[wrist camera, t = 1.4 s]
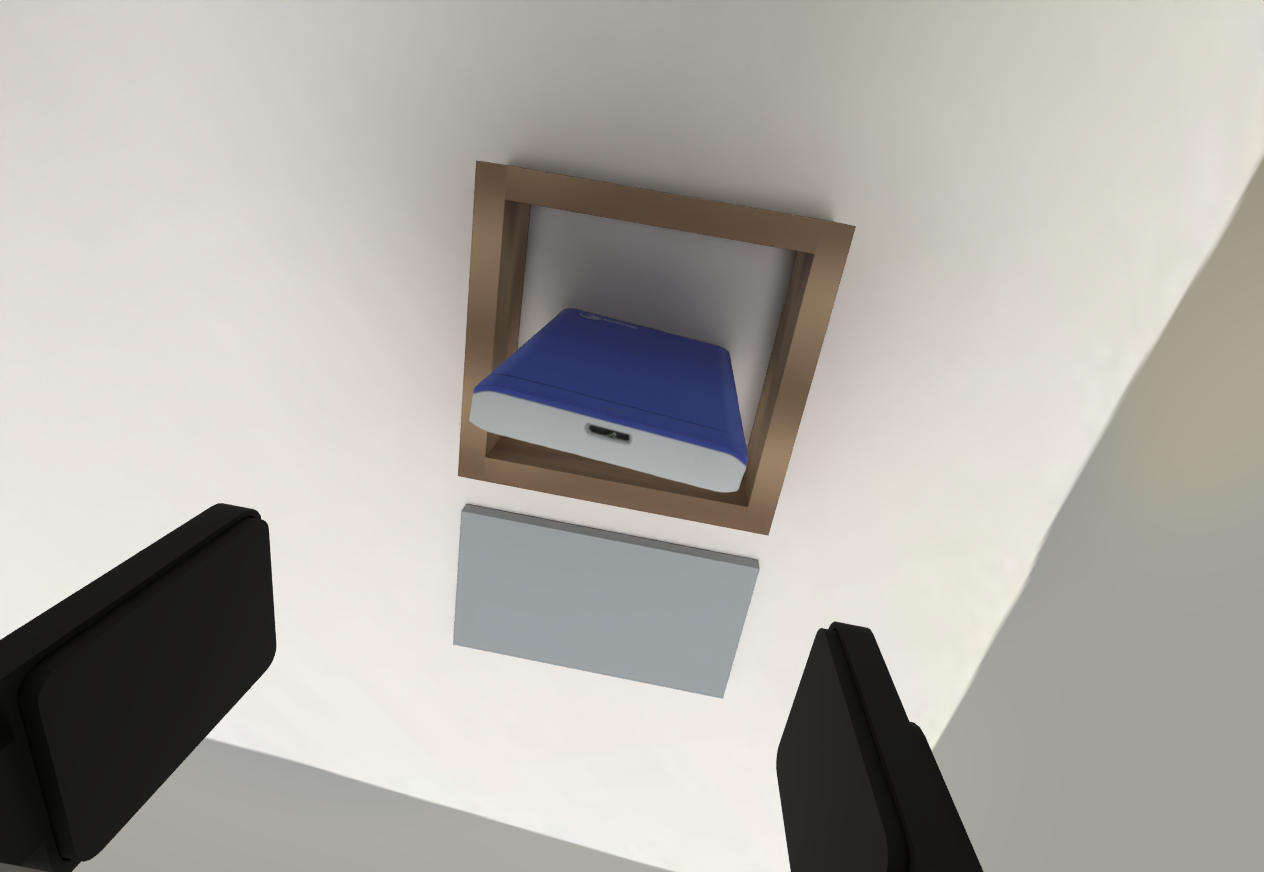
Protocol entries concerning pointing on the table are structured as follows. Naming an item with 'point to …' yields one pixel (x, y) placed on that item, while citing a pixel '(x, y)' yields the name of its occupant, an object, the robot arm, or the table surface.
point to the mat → (600, 600)
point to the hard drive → (621, 399)
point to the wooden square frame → (815, 240)
